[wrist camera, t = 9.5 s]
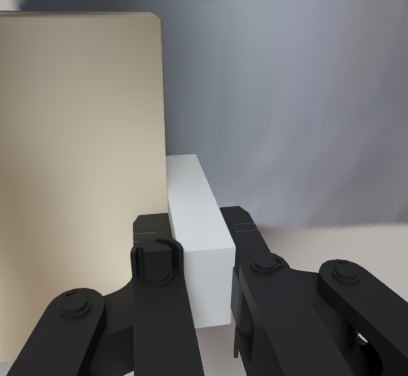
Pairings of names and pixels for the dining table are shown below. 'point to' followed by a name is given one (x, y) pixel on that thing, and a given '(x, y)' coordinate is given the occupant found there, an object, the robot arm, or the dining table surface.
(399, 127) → the dining table surface
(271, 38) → the dining table surface
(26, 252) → the maple block
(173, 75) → the dining table surface
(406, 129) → the dining table surface
